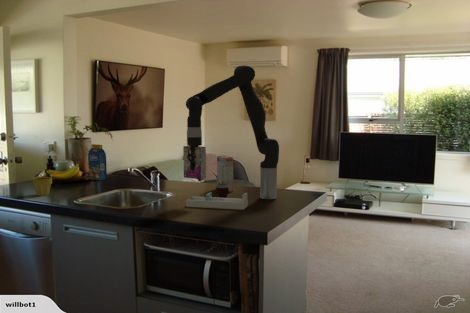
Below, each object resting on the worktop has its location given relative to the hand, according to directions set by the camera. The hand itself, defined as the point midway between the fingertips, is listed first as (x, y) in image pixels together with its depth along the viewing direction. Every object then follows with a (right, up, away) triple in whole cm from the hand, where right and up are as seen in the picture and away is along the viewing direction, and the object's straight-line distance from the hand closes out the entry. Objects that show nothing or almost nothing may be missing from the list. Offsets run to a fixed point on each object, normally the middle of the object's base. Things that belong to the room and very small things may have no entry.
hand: (194, 168), depth 230 cm
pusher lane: (+12, -19, -1) cm, 22 cm away
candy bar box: (0, -5, +1) cm, 5 cm away
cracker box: (+15, -15, +44) cm, 49 cm away
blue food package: (-77, -10, +87) cm, 117 cm away
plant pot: (-92, -16, +32) cm, 98 cm away
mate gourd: (+13, -17, +18) cm, 28 cm away
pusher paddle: (+11, -18, -1) cm, 21 cm away
